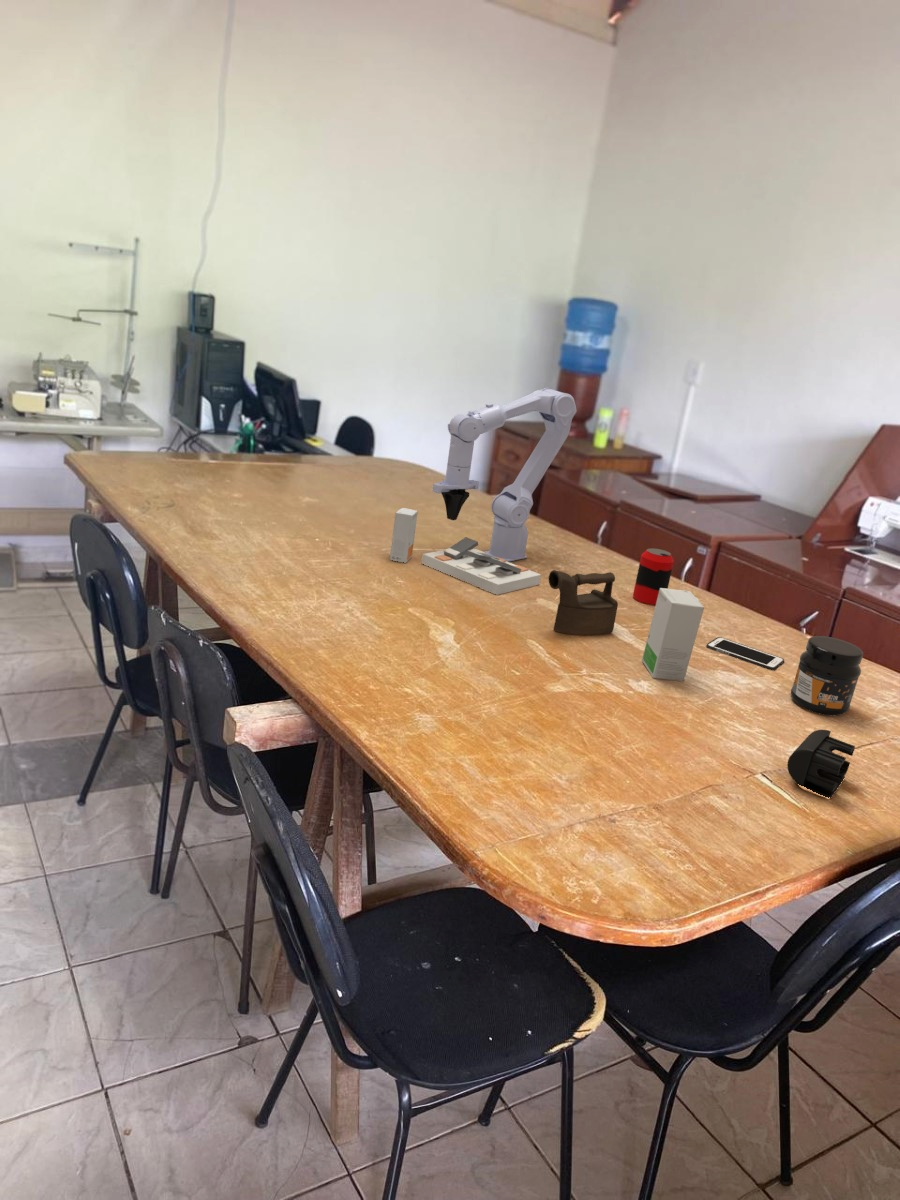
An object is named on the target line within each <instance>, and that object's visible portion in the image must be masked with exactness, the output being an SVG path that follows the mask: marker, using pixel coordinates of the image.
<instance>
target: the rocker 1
mask: <svg viewBox="0 0 900 1200" xmlns="http://www.w3.org/2000/svg"><path fill="white" fill-rule="evenodd" d="M477 546H479V542H478V541H477V540H475V539H473V538H469V537H467V536H465V537H464V538H462V539H461V540H459V541H457V542H456V543H454V544H453V545H452V546H450V547H448V548H447V549H444V550H445V551H444V555H445V556H448V557H450V558H453V559H455V560H457V559H458V558H460V557H461V556H463V555H464V554H466V551H467V550H472V549H476V547H477Z"/></svg>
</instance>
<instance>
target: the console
mask: <svg viewBox="0 0 900 1200" xmlns="http://www.w3.org/2000/svg"><path fill="white" fill-rule="evenodd" d="M445 550H446V549H443V550H437V551H431V552H427V553H426V552H425V553H422V556H421V563H422V564H421V565H423V564H424V566H426V567H428V566H429V567H428V568H430V567H432V568H431V569H433V568H434V569H433V570H435V569H436V570H435V571H438V570H439V571H438V572H440V571H441V572H440V573H442V572H443V573H442V574H445V573H446V574H445V575H447V574H448V575H447V576H450V575H451V577H452V576H453V577H452V578H454V577H456V578H455V579H457V578H458V579H457V580H459V579H460V580H459V581H462V580H463V581H462V582H464V581H465V582H464V583H466V582H467V584H469V583H470V584H469V585H471V584H472V586H474V587H476V586H477V587H476V588H478V587H480V588H479V589H481V590H483V589H484V590H483V591H485V592H488V591H489V592H488V593H490V592H491V593H490V594H492V595H495V594H496V595H495V596H498V595H501V594H502V595H503V594H507V593H511V592H514V591H518V590H524V589H527V588H531V587H536V586H539V585H540V583H541V577H542V575H541V574H540V573H539V572H535V571H533V570H530V569H529V568H527V567H524V566H522V565H519V564H518V565H517V564H514V563H512V562H510V561H509V562H507V561H506V560H504V559H501V558H499V557H496V558H498V559H499V560H500V561H502V562H505V563H507V564H509V565H512V566H514V567H517V568H520V569H521V572H520V573H518V572H515V571H512V570H510V569H507V568H504V567H501V566H499V565H496V564H494V563H491V562H488V561H485V560H479V559H476V558H473V557H471V556H468V555H466V554H464V555H463V556H461V557H460V558H458V559H457V560H455V559H453V558H450V557H448V556H445V555H444V551H445ZM470 551H474V552H478V553H484V554H486V553H485V552H484V551H482V550H480V549H478V548H473V549H472V550H470ZM488 555H489V554H488ZM493 557H494V556H493Z"/></svg>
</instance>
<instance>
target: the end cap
mask: <svg viewBox="0 0 900 1200" xmlns="http://www.w3.org/2000/svg"><path fill="white" fill-rule="evenodd" d="M831 732H832V731H831V730H828V729H818V730H814V731H813V732H811V733H810V734H809V735H808V736H806V738H805V739H804V740H803V741H802V742H801V743H800V744H799V745H798V746H797V747H796V749H795V750H793V752H792V753H791V754H790V756H789V757H788V760H787V772H788V774H789V776H790V777H791V779H792V780H793V781H794V782H795V783H796V785H797V784H799V785H801V786H804V787H806V788H807V789H810V790H812V791H813V792H816V793H818V794H820V795H823V796H825V797H828V798H829V797H830V798H831V797H832V798H833V796H834V795H835V793H836V792H837V791H838V789H839V788H840V786H841V785H842V784H841V782H842V781H843V779H844V778H846V774H847V773H848V770H849V767H850V764H851V762H850V761H848V760H847V758H846V757H845V756H842V755H840V754H838V753H837V754H836V752H835V753H834V752H833V751H838V752H841V753H843V754H846V755H849V756H851V757H852V756H853V755H854V752H855V749H856V745H854V744H853V745H852V744H851V743H847V742H845V741H842V740H839V739H837V738H834V737H832V736H831ZM844 780H845V779H844ZM843 782H844V781H843ZM843 782H842V783H843ZM840 784H841V785H840ZM839 785H840V786H839ZM838 787H839V788H838ZM837 788H838V789H837ZM836 790H837V791H836ZM835 791H836V792H835ZM834 792H835V793H834ZM833 794H834V795H833ZM832 795H833V796H832ZM832 798H831V799H832Z"/></svg>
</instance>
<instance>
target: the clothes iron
mask: <svg viewBox="0 0 900 1200" xmlns="http://www.w3.org/2000/svg"><path fill="white" fill-rule="evenodd" d="M615 581H616V577H615V574H614V573H613V572H610V571H609V572H605V573H598V572H592V573H585V574H584V573H575V574H573V575H570V574H568V573H567V572H564V571H560V570H556V569H553V570H551V571H550V572H549V575H548V585H549V586H550V588H551V589H553V590H559V602H558V605H557V610H556V615H555V620H554V626H553V631H555V632H557V633H560V634H566V635H574V636H598V635H599V636H600V635H608V634H612V633H613V631H614V628H615V622H616V616H617V612H618V611H617V610H618V605H619V603H618V601H617V600H616V599H615V598H613V596H612V592H613V583H614V582H615ZM585 584H588V585H600V584H605V585H604V588H603V591H601V590H598V589H595V588H594V589H592V590H591V591H590V592H589V593H581V594H578V588H579V587H578V586H581V585H585Z"/></svg>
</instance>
